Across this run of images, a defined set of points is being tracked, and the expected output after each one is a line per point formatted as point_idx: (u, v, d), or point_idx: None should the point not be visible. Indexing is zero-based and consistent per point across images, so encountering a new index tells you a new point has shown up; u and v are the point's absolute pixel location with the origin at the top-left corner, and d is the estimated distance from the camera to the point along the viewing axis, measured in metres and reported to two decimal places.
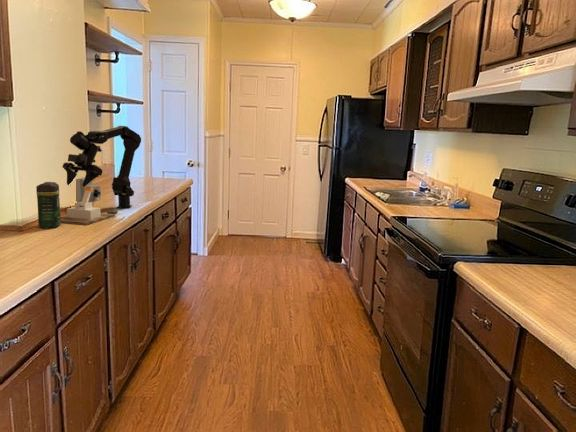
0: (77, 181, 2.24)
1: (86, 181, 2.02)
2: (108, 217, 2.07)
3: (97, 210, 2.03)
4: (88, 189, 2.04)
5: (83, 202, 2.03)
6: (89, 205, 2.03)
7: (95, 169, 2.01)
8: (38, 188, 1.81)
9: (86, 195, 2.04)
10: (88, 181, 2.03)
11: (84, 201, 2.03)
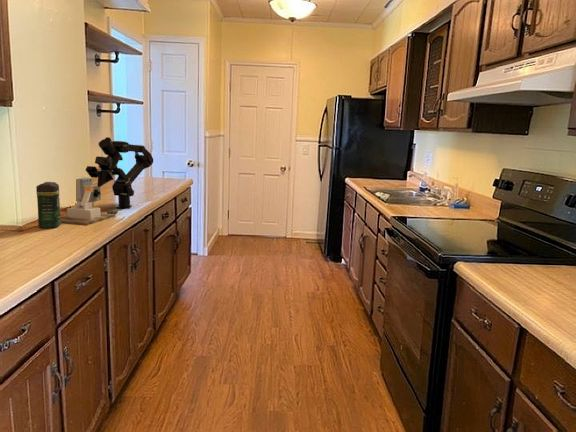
0: (77, 181, 2.24)
1: (102, 182, 2.13)
2: (108, 217, 2.07)
3: (97, 210, 2.03)
4: (88, 189, 2.04)
5: (83, 202, 2.03)
6: (89, 205, 2.03)
7: (121, 172, 2.13)
8: (38, 188, 1.81)
9: (86, 195, 2.04)
10: (104, 182, 2.14)
11: (84, 201, 2.03)
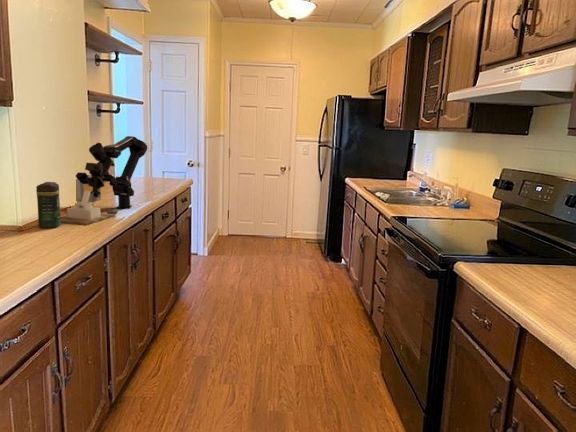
0: (77, 181, 2.24)
1: (93, 189, 2.07)
2: (108, 217, 2.07)
3: (97, 210, 2.03)
4: (87, 189, 2.04)
5: (83, 202, 2.03)
6: (89, 205, 2.03)
7: (112, 178, 2.07)
8: (38, 188, 1.81)
9: (86, 195, 2.03)
10: (94, 189, 2.08)
11: (84, 201, 2.03)
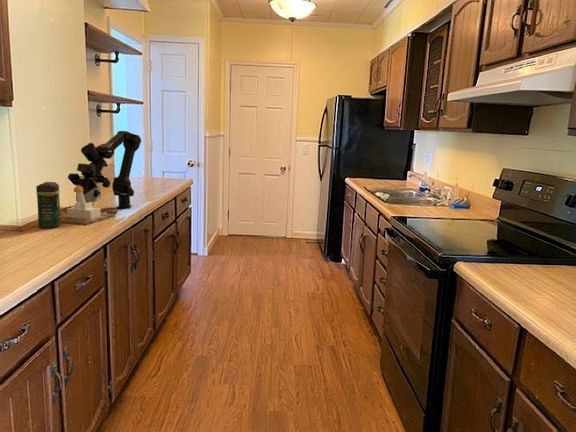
0: None
1: (85, 190, 2.02)
2: (108, 217, 2.07)
3: (97, 210, 2.03)
4: (78, 191, 1.98)
5: (81, 203, 2.02)
6: (89, 205, 2.03)
7: (105, 179, 2.01)
8: (38, 188, 1.81)
9: (80, 197, 2.00)
10: (87, 191, 2.03)
11: (81, 203, 2.01)
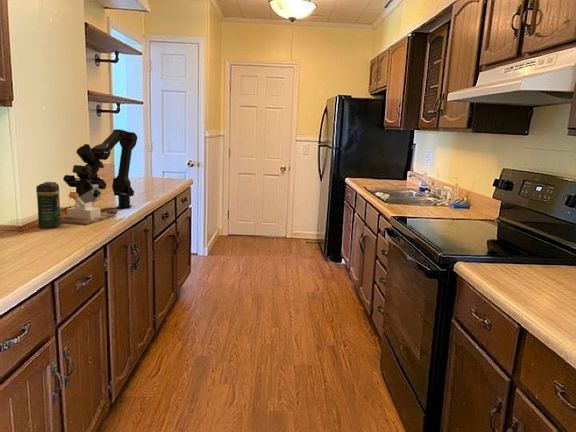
0: None
1: (81, 192, 1.99)
2: (108, 217, 2.07)
3: (97, 210, 2.03)
4: (74, 197, 1.96)
5: (80, 205, 2.01)
6: (89, 205, 2.03)
7: (101, 181, 1.99)
8: (38, 188, 1.81)
9: (77, 201, 1.98)
10: (82, 193, 2.00)
11: (81, 205, 2.01)
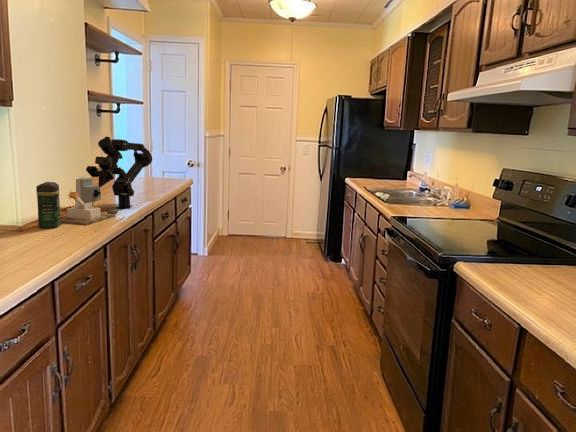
0: (77, 181, 2.24)
1: (103, 182, 2.13)
2: (108, 217, 2.07)
3: (97, 210, 2.03)
4: (74, 197, 1.96)
5: (80, 205, 2.01)
6: (89, 205, 2.03)
7: (121, 171, 2.13)
8: (38, 188, 1.81)
9: (77, 201, 1.98)
10: (104, 182, 2.14)
11: (81, 205, 2.01)
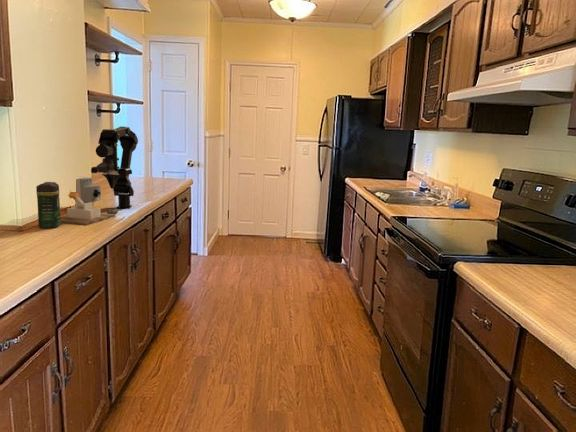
0: (77, 181, 2.24)
1: (113, 183, 2.16)
2: (108, 217, 2.07)
3: (97, 210, 2.03)
4: (74, 197, 1.96)
5: (80, 205, 2.01)
6: (89, 205, 2.03)
7: (126, 173, 2.12)
8: (38, 188, 1.81)
9: (77, 201, 1.98)
10: (115, 182, 2.17)
11: (81, 205, 2.01)
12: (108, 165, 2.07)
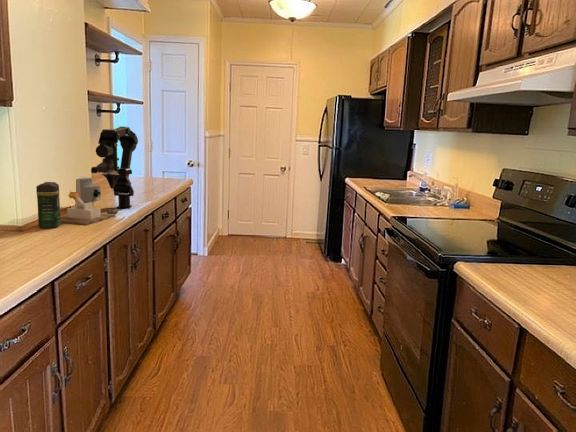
0: (77, 181, 2.24)
1: (113, 183, 2.16)
2: (108, 217, 2.07)
3: (97, 210, 2.03)
4: (74, 197, 1.96)
5: (80, 205, 2.01)
6: (89, 205, 2.03)
7: (126, 173, 2.12)
8: (38, 188, 1.81)
9: (77, 201, 1.98)
10: (115, 182, 2.17)
11: (81, 205, 2.01)
12: (108, 165, 2.07)
